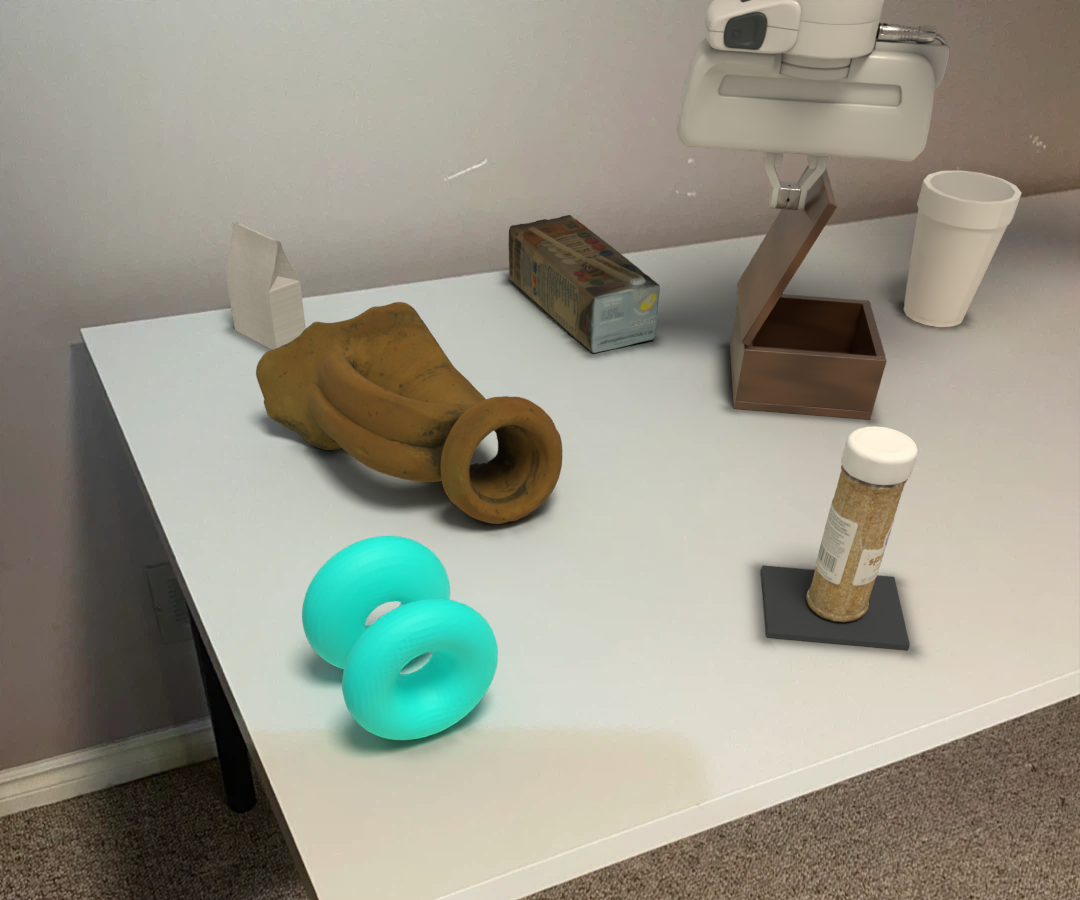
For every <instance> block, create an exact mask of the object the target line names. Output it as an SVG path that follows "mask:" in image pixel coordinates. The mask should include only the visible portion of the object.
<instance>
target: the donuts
mask: <svg viewBox="0 0 1080 900" xmlns="http://www.w3.org/2000/svg"><path fill="white" fill-rule="evenodd" d="M450 584H451V583H450V579H449V576H448V573H447V570H446V568H445V566H444V564H443V562H442V561H441V560H440V558H439V557H438V556H437V555H436V554H435V552H433V551H432V550H431V549H430V548H429V547H428V546H425V545H423V544H422V543H421V542H419V541H417V540H414V539H411V538H408V537H404V536H397V535H378V536H372V537H368V538H364V539H361V540H359V541H356V542H354V543H352V544H351V543H350V545H348V546H346V547H344V548H342V549H341V550H339V551H338V552H336V553H334V554H333V555H332V556H331V557H330V558H329V559H327V560H326V562H324V563H323V564H322V566H321V567H320V568H319V569H318V570H317V572H316V573H315V574H314V576H313V577H312V579H311V581H310V583H309V585H308V587H307V589H306V592H305V595H304V599H303V603H302V609H301V621H302V628H303V631H304V635H305V637H306V639H307V642H308V644H309V645H310V647H311V648H312V650H313V651H314V652H315V653H316V654H317V655H318V656H319V657H320V658H321V659H322V660H324V661H325V662H327V663H328V664H330V665H332V666H334V667H336V668H338V669H341V670H343V672H342V681H341V689H342V690H341V691H342V696H343V700H344V703H345V707H346V709H347V711H348V713H349V714H350V716H351V717H352V718H353V720H354V721H355V722H356V723H357V725H359V726H361V727H362V728H363V729H364V730H366V732H369V733H371V734H373V735H374V736H377V737H380V738H383V739H386V740H392V741H393V740H394V741H411V740H418V739H423V738H426V737H430V736H432V735H436V734H439V733H441V732H443V731H445V730H447V729H449V728H451V727H452V726H454V725H455V724H457V723H458V722H460V721H461V720H462V719H463V718H465V717H466V716H467V715H469V714H470V713H471V712H472V711H473V710H474V709H475V708H476V706H478V704H479V703H480V702H481V701H482V699H483V698H484V696H485V695H486V693H487V692H488V690H489V688H490V687H491V684H492V683H493V680H494V678H495V675H496V671H497V668H498V661H499V648H498V647H499V646H498V642H497V639H496V635H495V633H494V630H493V628H492V626H491V625H490V624H489V622H488V621H487V619H486V618H485V617H484V616H483V615H482V614H481V613H480V612H478V611H477V610H476V609H474V608H472V607H471V606H469V605H467V604H466V603H462V602H459V601H456V600H453V599H451V585H450ZM391 602H398V603H400V604H399V606H397V607H396V608H394V609H392V610H389V611H387V612H386V613H384V614H383V615H382V616H380V617H379V618H377V619H376V620H375V621H374V622H372V623H371V624H370V625H366V624H367V620H368V618H369V617H370V615H371V614H372V613H373V611H375V610H376V609H377V608H378V607H380V606H382V605H384V604H387V603H391ZM431 652H432V654H431V656H430V658H429V660H428V661H426V663H425V664H424V665H423V666H421V667H420V668H418V669H417V670H415V671H413V672H409V673H403V674H402V673H401V671H402V670H403V669H404V668H405V666H407V665H408V664H409V663H410V662H411V661H413V660H414V659H416V658H417V657H419V656H421V655H424V654H427V653H431Z"/></svg>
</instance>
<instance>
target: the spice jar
mask: <svg viewBox="0 0 1080 900" xmlns="http://www.w3.org/2000/svg"><path fill="white" fill-rule="evenodd" d="M842 451H843V452H842V456H841V460H840V463H841V465H840V473H839V477H838V481H837V484H836V487H835V492H834V496H833V498H832V499H831V504H830V507H829V512H828V515H827V519H826V521H825V522H826V523H825V525H824V530H823V533H822V538H821V541H820V546H819V548H818V549H819V550H818V553H817V556H816V561H815V568H814V570H815V572H814V577H813V581H812V584H811V587H810V588H809V589H808V592H807V595H806V599H807V603H808V605H809V607H810V608H811V609H812V610H813V611H814V612H815V613H816V614H818V615H819V616H821V617H823V618H825V619H828V620H832V621H835V622H849V621H855V620H857V619H860V618H861V617H862V616H863V615H864V614H865V613H866V611H867V610H868V605H869V598H870V594H871V591H872V588H873V585H874V582H875V578H876V577H877V575H879V572H880V568H881V565H882V562H883V558H884V555H885V552H886V548H887V544H888V542H889V539H890V535H891V532H892V528H893V525H894V522H895V518H896V517H895V516H896V513H897V510H898V507H899V504H900V501H901V497H902V493H903V491H904V488H905V484H906V483H907V481H908V480H909V479H910V478H911V476H912V473H913V471H914V470H913V469H914V467H915V464H916V461H917V457H918V452H919V449H918V445H917V444H916V442H915V441H914V440H913V439H912V438H911V437H910V436H908V435H907V434H905V433H904V432H901V431H899V430H896V429H894V428H891V427H886V426H873V425H872V426H871V425H870V426H864V427H860V428H857V429H854V430H853V431H851V432H850V433H849V435H848V436H847V439H846V441H845V445H844V448H843V450H842Z"/></svg>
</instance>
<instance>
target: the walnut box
mask: <svg viewBox="0 0 1080 900" xmlns="http://www.w3.org/2000/svg"><path fill="white" fill-rule="evenodd" d="M736 301H737V302H736V307H735V313H734V320H733V321H734V322H733V326H732V332H731V338H730V342H729V343H730V344H729V354H730V356H729V357H730V370H731V371H730V373H731V385H732V387H731V388H732V402H733V409H734V410H746V411H747V410H748V411H758V412H769V413H771V412H772V413H782V414H783V413H784V414H796V415H809V416H821V417H833V418H834V417H835V418H844V419H845V418H846V419H859V420H868V421H869V420H871V418H872V414H873V411H874V408H875V405H876V401H877V396H878V394H879V390H880V386H881V382H882V379H883V377H884V372H885V369H886V365H887V361H888V360H887V358H886V353H885V350H884V347H883V343H882V339H881V336H880V332H879V329H878V325H877V323H876V322H877V321H876V319H875V315H874V311H873V308H872V304H871V300H865V299H854V298H840V297H827V296H814V295H813V296H812V295H802V294H788V293H782V295H781V297H780V298H779V300H778V301H777V303H776V304H775V306H774V308H773V309H772V311H771V312H770V314H769V315H768V317H767V319H766V320H765V322H764V323H763V325H762V327H761V328H760V330H759V331H758V333H757V334H756V336H755V338H754V339H753V341H752V342H751V344H750V345H749V346H748V345H746V344H744V343H742V340H741V328H740V315H739V303H738V300H736Z"/></svg>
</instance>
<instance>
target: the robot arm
mask: <svg viewBox="0 0 1080 900" xmlns="http://www.w3.org/2000/svg"><path fill="white" fill-rule="evenodd" d="M884 2H885V0H713V1H712V2H711V3H709V6H708V7H707V10H706V12H705V17H704V34H705V38H703V39H702V40H700V42H699V43H698V44H697V46H696V47H695V49H694V50H693V53H692V55H691V56H690V60H689V63H688V67H687V71H686V74H685V77H684V78H685V79H684V82H683V87H682V90H681V96H680V101H679V106H678V113H677V121H676V135H677V137H678V138H679V140H680V142H681V143H682V145H683V146H684V147H686V148H695V149H696V148H699V149H712V150H713V149H714V150H727V151H728V150H729V151H743V152H757V153H763V155H762V161H763V166H764V170H765V172H766V175H767V178H768V181H769V183H770V190H769V191H770V192H769V196H768V208H769V209H774V210H775V209H776V210H781V209H788V210H802V211H803V209H804V206H805V201H806V196H807V191H808V190H810V188H811V187H812V186H813V185H814V183H815V182H816V181H817V180H818V178H819V177H820V176H821V175H822V173H823V172H824V171H825V169H827V163H828V158H829V157H833V158H834V157H835V158H849V159H865V160H867V159H868V160H879V161H880V160H881V161H882V160H883V161H884V160H885V161H894V162H895V161H897V162H913V161H914V160H915V159H916V158H918V157H919V155H920V154H921V153H923V151H924V150H925V148H926V145H927V141H928V137H929V132H930V127H931V121H932V116H933V115H932V114H933V109H934V108H933V107H934V100H935V90H936V89H938V87H939V86H940V85H941V84H942V82H943V80H944V78H945V75H946V71H947V68H948V64H949V60H950V56H951V48H950V47H951V46H950V44H949V42H948V41H949V40H948V39H947V38H946V37H945V36H944V35H943V34H941V33H939V32H937V31H938V30H937V28H936V27H934V26H930V25H919V26H912V25H911V26H910V25H905V24H901V23H900V24H899V23H888V22H880V21H881V17H882V12H883V7H884ZM935 40H937V41H939V42H935ZM784 154H789V155H804V156H806V161H807V166H808V165H809V168H808V169H807V171H806V172H805V173H804V175H803V176H802V175H801V176H802V178H801V179H800V178H799V179H800V180H799V179H798V181H799V182H798V181H797V182H796V181H783V180H780V178H779V175H778V172H777V169H776V167H777V168H778V167H781V166H782V162H783V158H784Z"/></svg>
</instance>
